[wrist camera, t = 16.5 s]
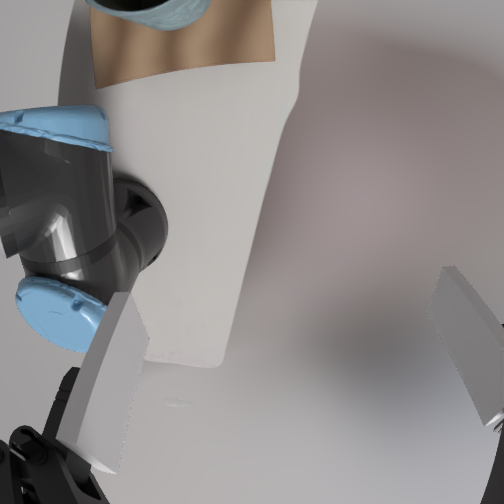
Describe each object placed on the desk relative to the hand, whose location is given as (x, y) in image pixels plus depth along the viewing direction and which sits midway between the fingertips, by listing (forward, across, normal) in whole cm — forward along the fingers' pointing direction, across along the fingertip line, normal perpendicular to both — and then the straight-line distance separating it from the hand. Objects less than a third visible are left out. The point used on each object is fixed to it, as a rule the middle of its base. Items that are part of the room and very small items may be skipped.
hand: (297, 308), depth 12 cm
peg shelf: (+32, -8, +20) cm, 38 cm away
